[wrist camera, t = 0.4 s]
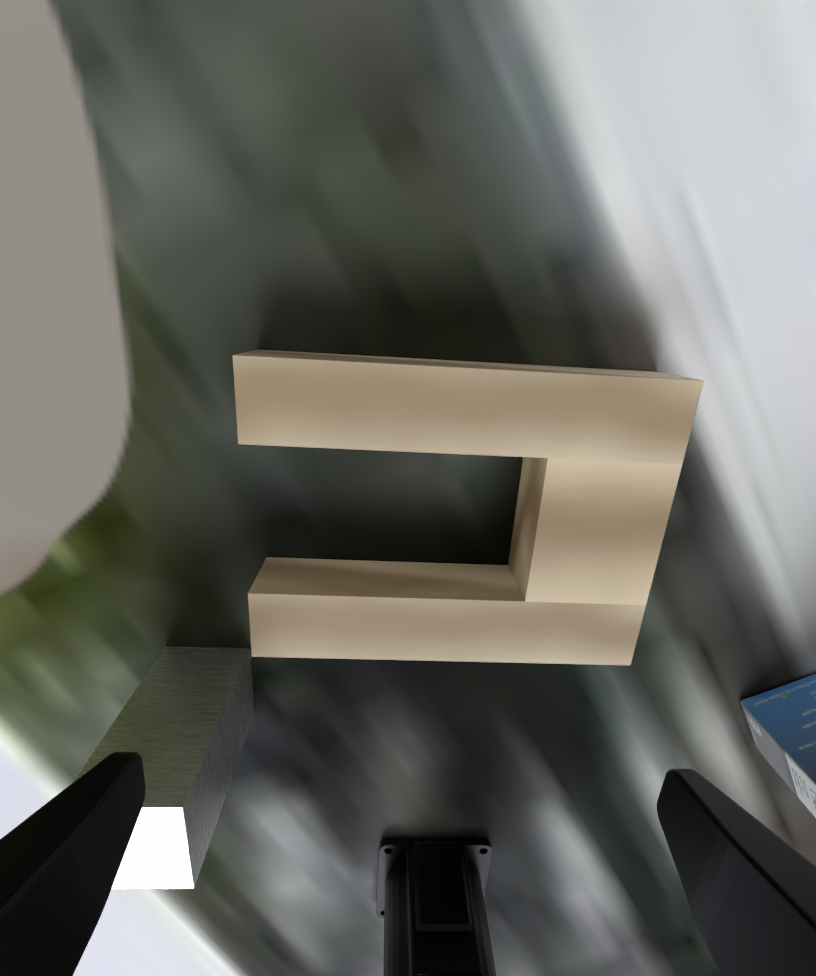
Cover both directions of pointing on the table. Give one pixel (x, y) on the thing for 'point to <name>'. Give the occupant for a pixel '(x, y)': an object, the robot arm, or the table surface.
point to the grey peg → (181, 758)
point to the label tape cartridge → (787, 734)
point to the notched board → (538, 518)
